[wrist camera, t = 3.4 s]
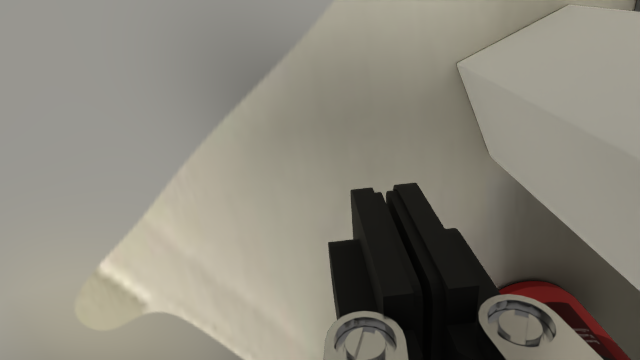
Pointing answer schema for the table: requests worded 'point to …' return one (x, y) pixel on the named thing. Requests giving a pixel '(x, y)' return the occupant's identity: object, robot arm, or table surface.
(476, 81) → the milk
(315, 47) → the table surface
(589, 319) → the canned food
